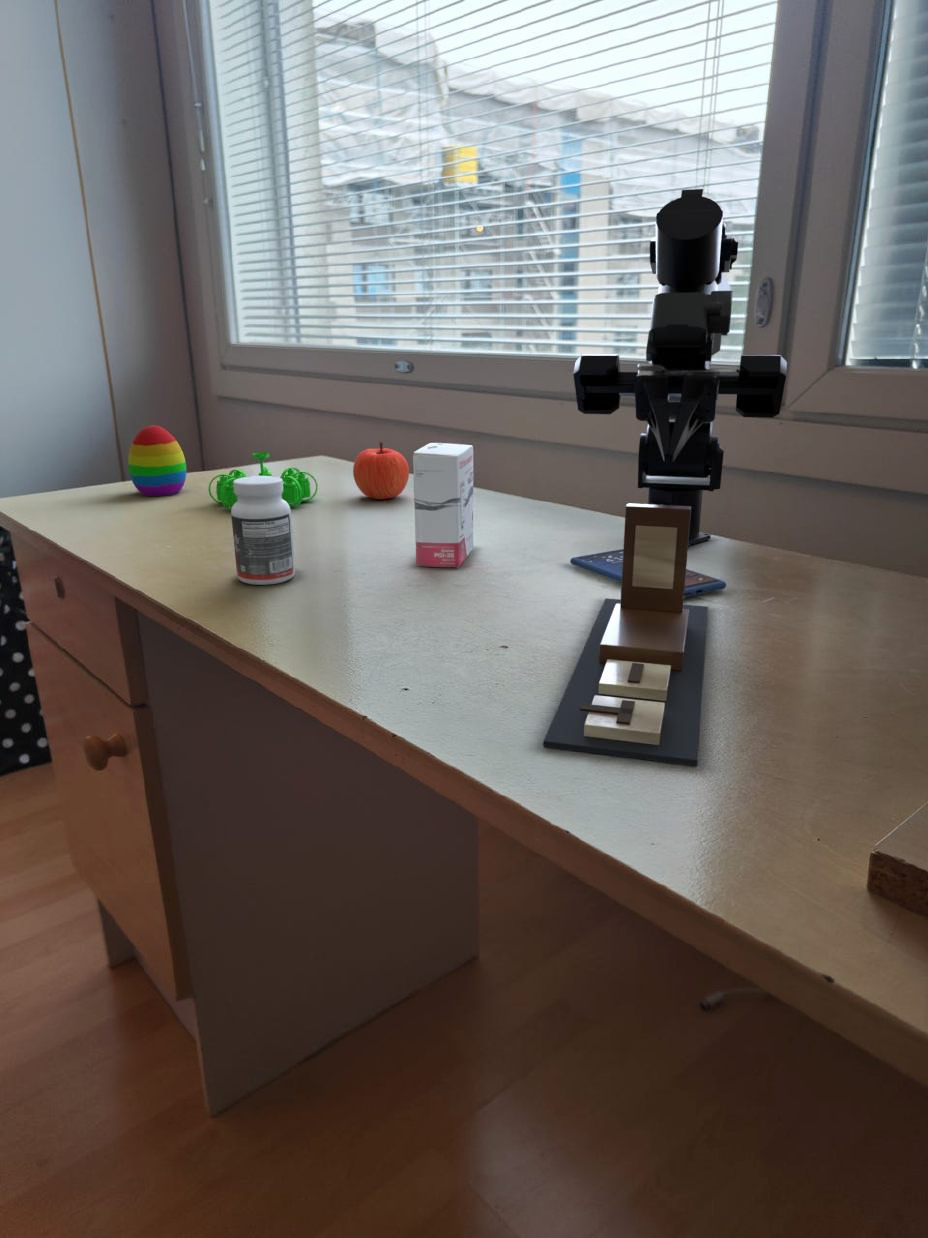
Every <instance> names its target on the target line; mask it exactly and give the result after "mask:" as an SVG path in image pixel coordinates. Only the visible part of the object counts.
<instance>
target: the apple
mask: <svg viewBox="0 0 928 1238" xmlns="http://www.w3.org/2000/svg"><path fill="white" fill-rule="evenodd" d="M383 444H384V443H383V442H382V441H379V448H366V449H363V450H361V452H359V454H357V456H356V458H355V460H354V463H353V466H352V475H353V479H354V482H355V485H356V486H357V488H358V490H359V491H360V492H361V493H362V494H363V495H364V496H365V497H368V498H372V499H374V500H387V499H393V498H396V497H398V496H399V495H400V494H401V493H402V492H403V491H404V490H405V488H406V487H407V484H408V481H409V477H410V468H409V464H408V462H407V459H406V458H405V456H404V455H402V453H400V452H399V451H396V450H394V449H391V448H386V447H383Z"/></svg>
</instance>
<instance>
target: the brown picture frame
mask: <svg viewBox="0 0 928 1238" xmlns="http://www.w3.org/2000/svg"><path fill="white" fill-rule="evenodd" d="M624 513H625V516H624V531H623V532H624V533H623V548H622V549H623V565H622V583H620V600H621V601H620V604H615V607H614V610H613V612H612V615H611V617H610V620H609V622H608V625H607V628H606V630H605V633H604V635H603V638H602V641H601V643H600V650H599V663H605V664H606V662H607V659H609V660H620V661H630V662H640V663H650V664H661V665H670V666H671V670H676V671H682V669H683V661H684V653H685V645H686V637H687V629H688V619H689V609H683V605H684V602H685V597H684V591H685V579H686V569H687V566H688V553H689V545H688V542H689V529H690V517H691V506H672V505H651V504H647V503H630V502H629V503H627V504H626V505H625V512H624Z"/></svg>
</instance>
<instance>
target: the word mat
mask: <svg viewBox="0 0 928 1238" xmlns="http://www.w3.org/2000/svg"><path fill="white" fill-rule="evenodd" d="M620 601H621V599H618V598H617V599H616V598H605V599H604V601H603V604H602V606H601V607H600V611H599V613H598V615H597V617H596V619H595V622H594V624H593V626H592V628H591V631H590V633H589V636H588V637H587V640H586V642H585V645H584V647H583V650H582V652H581V654H580V656H579V659H578V661H577V663H576V666H575V668H574V670H573V672H572V674H571V677H570V680H569V682H568V684H567V686H566V688H565V691H564V693H563V696H562V698H561V700H560V702H559V705H558V707H557V709H556V712H555V714H554V716H553V718H552V721H551V723H550V725H549V727H548V729H547V732H546V735H545V737H544V739H543V743H542V744H543V745H542V746H543V747H545V748H551V749H559V750H565V751H566V750H567V751H575V752H583V753H590V754H599V755H605V756H606V755H607V756H613V757H614V756H615V757H622V758H631V759H637V760H646V761H654V762H661V763H669V764H676V765H677V764H678V765H684V766H685V765H687V766H693V767H697V766H698V758H699V757H698V756H699V743H700V742H699V741H700V728H701V727H700V726H701V716H702V715H701V713H702V712H701V711H702V699H703V685H704V684H703V682H704V671H705V653H706V641H707V640H706V639H707V625H708V612H709V611H708V610H709V606H708V605H695V604H694V605H693V604H683V609H689V619H688V629H687V637H686V645H685V653H684V661H683V669H682V671H676V670H671V666H670V665H661V664H650V663H640V662H630V661H620V660H609V659H607V662H606V664H605V663H599V650H600V643H601V641H602V638H603V635H604V633H605V630H606V628H607V625H608V622H609V620H610V617H611V615H612V612H613V610H614V607H615V604H620Z"/></svg>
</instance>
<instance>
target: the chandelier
mask: <svg viewBox="0 0 928 1238" xmlns="http://www.w3.org/2000/svg"><path fill="white" fill-rule="evenodd" d="M268 458H270V452H254V453H252V459H259V465H260V472H258V476H273V473H272V472H271V471H269V469H268V467H267V466H264V459H268ZM306 475H307V476H310V477H311V478H312V479H313V481H314V484H315V491H314V493H313V494H312V495H311V483H310V480H309V477H307V476H306ZM243 477H248V476H247V474H246V473H245V472H244V471H243V470H242V469H239V468H236V469H232V470H230V471H229V473H228V474H227V473H220V474H217V475H216V476H214V477H212V478H211V480H210V482H209V484H208V494H209V496H210V497H211V499H212V500H213V501H214V502H215V503H217V504H219V505H222V506H223V507H224V508H226V509H228V510H231V509H232V507H233V505H234V504H235V503H236V502H237V501H238V497H237V496H236V494H235V493H234V485H233V481H234V480H236V479H239V478H243ZM217 478H219V480H217V481H216V486H215V489H216V497H217V499H216V498H215V497H214V495H213V494H212V491H211V486H212V483H213V482H214V480H216V479H217ZM279 478H281V479H282V480H283V492H282V494H281V497H282V499H283V500H285V501H286V502H287V503H288V504H289V507H290V509H291V508H297V507H299V506H300V504H301V503H302V502H309V501H310V500H312V499H313V498H315V496H316V494H317V493H318V481H317V479H316V477H315V476H314V475H313V474H311V473H309V472H307V471H303V470H300V469H298V468H296V467H287V468H285V469H284V470H283V471H282V473H281V475H280V477H279ZM293 504H294V505H293Z"/></svg>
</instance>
